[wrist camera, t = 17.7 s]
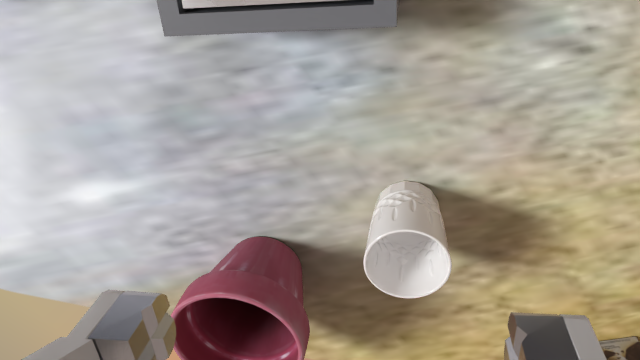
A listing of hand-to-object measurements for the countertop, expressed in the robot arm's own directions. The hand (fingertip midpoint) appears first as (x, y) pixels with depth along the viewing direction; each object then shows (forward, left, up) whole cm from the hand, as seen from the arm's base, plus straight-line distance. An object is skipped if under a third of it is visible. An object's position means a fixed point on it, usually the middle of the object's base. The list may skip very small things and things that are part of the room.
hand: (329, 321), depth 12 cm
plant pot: (+15, +29, -37) cm, 50 cm away
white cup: (-2, +20, -37) cm, 42 cm away
